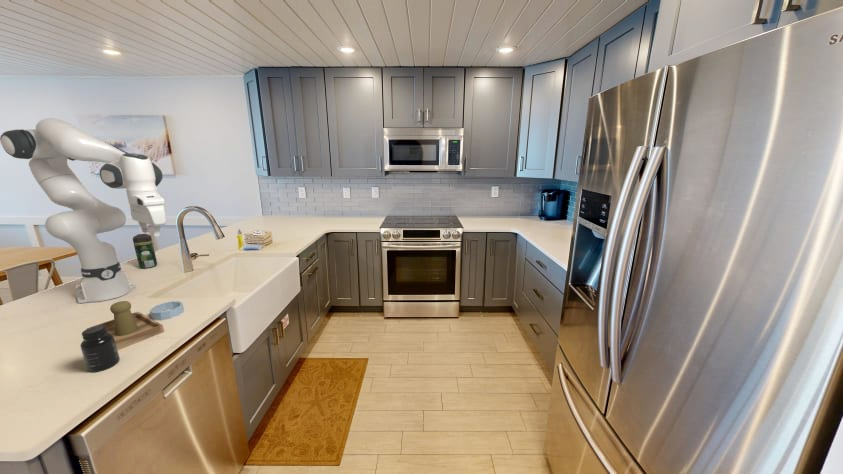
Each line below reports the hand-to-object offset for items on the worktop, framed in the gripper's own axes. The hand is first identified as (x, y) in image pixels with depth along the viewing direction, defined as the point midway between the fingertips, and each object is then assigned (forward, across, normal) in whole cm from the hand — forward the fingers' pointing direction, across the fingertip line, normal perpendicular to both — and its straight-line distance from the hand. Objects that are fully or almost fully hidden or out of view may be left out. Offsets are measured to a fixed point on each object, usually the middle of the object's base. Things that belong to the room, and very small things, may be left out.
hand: (151, 234), depth 119 cm
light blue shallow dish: (+31, +7, -2) cm, 32 cm away
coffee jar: (+33, -68, +18) cm, 77 cm away
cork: (+31, +11, -16) cm, 36 cm away
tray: (+31, +11, -16) cm, 37 cm away
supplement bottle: (+31, +28, -26) cm, 49 cm away
